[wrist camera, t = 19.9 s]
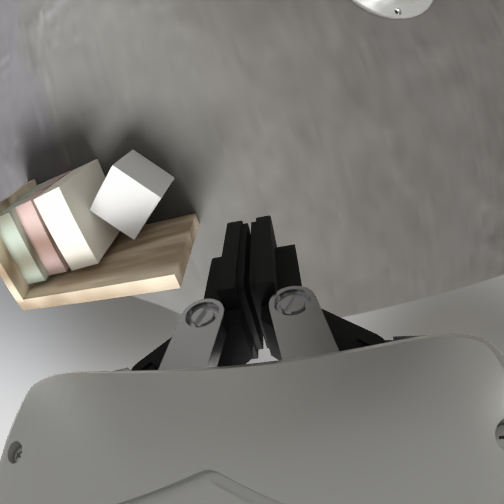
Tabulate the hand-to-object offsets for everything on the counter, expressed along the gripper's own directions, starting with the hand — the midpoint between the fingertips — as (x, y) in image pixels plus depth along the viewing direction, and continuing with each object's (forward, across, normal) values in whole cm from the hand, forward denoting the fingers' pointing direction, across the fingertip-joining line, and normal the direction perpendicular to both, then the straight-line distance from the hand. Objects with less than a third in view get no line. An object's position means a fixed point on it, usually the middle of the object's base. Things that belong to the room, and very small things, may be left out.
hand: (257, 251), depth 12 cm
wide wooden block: (+22, +20, +3) cm, 30 cm away
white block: (+22, +21, +3) cm, 30 cm away
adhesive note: (+23, +14, +3) cm, 27 cm away
